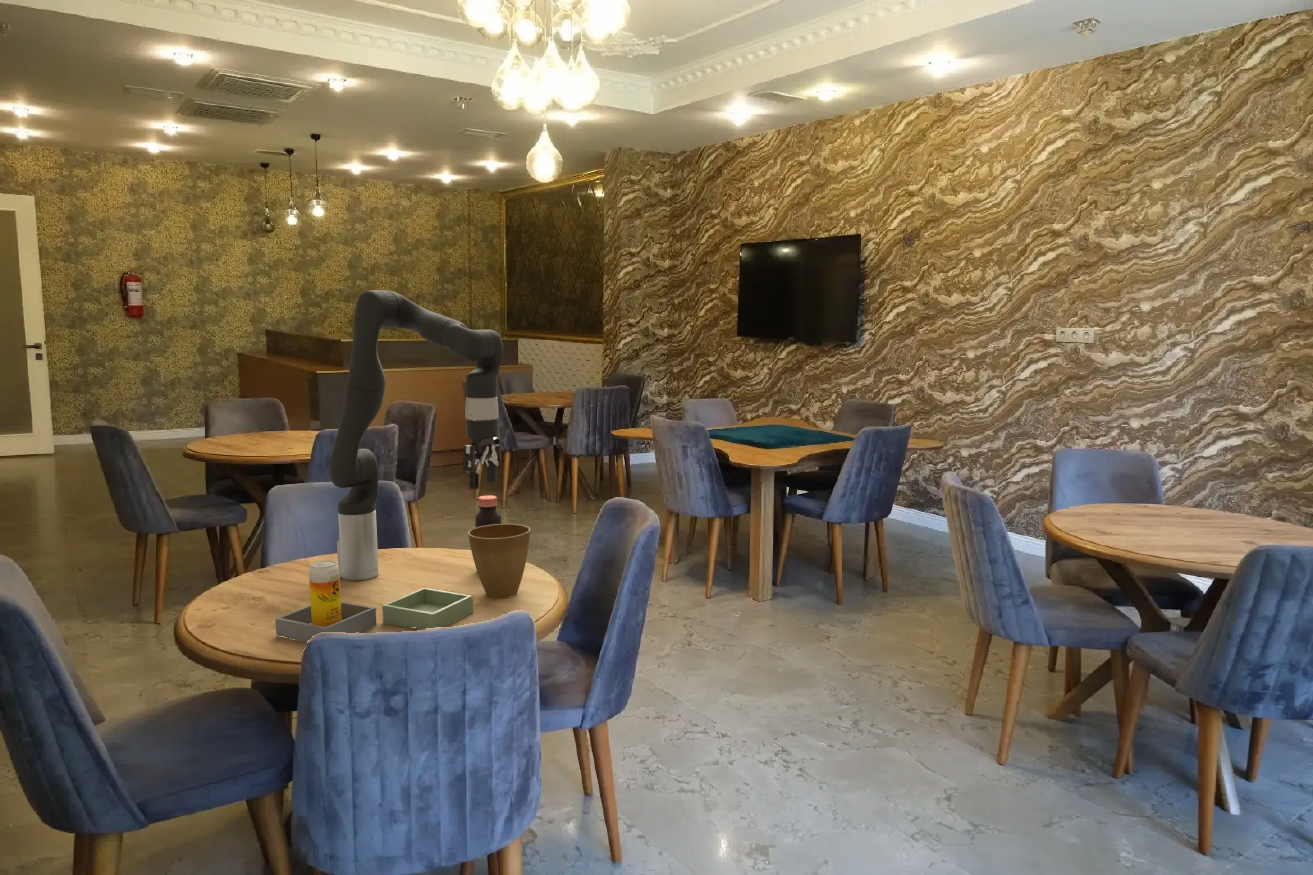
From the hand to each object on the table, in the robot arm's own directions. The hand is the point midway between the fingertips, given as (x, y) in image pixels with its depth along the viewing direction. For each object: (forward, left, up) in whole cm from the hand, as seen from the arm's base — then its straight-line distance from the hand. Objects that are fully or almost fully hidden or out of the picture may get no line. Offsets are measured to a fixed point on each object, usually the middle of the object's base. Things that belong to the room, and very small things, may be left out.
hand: (483, 485), depth 209 cm
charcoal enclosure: (-20, -31, -28) cm, 46 cm away
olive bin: (-5, -15, -28) cm, 32 cm away
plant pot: (0, +6, -28) cm, 29 cm away
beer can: (-20, -31, -28) cm, 46 cm away
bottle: (-14, +21, -28) cm, 38 cm away
